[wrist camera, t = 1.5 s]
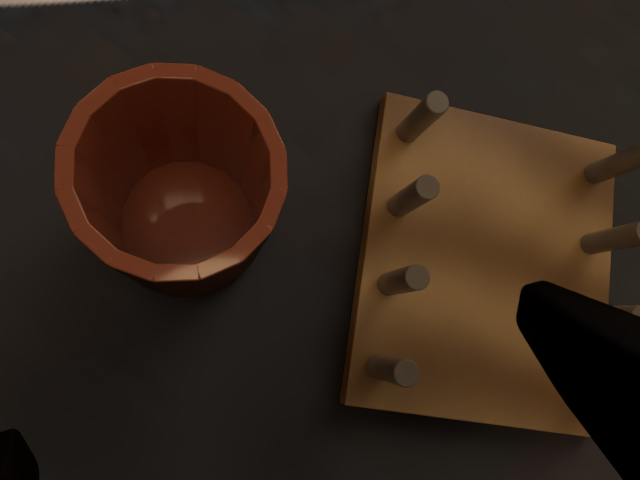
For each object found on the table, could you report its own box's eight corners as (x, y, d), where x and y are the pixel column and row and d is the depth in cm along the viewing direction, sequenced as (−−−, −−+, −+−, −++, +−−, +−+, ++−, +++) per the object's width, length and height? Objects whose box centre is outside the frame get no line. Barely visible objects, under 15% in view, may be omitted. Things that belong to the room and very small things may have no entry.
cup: (189, 328, 22) (177, 330, 14) (79, 225, 22) (-1, 167, 14) (290, 223, 24) (331, 169, 16) (187, 126, 24) (174, 20, 15)
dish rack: (587, 434, 25) (666, 458, 21) (339, 402, 23) (368, 420, 19) (602, 151, 28) (675, 118, 23) (380, 100, 26) (414, 54, 21)
